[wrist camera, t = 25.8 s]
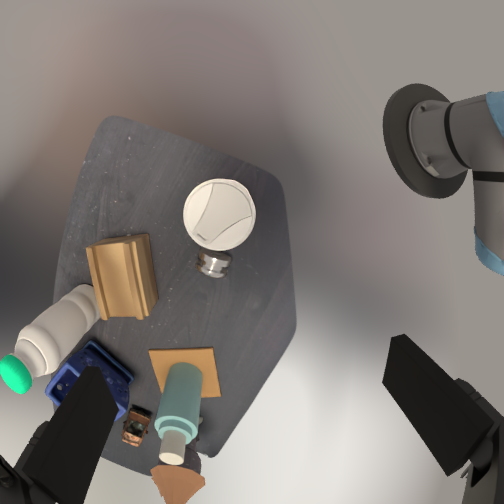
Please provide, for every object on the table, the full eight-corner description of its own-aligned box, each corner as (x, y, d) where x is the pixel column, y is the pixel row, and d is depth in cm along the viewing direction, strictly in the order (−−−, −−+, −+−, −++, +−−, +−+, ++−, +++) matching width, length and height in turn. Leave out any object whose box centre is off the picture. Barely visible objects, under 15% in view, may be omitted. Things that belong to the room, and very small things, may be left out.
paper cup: (225, 242, 42) (224, 268, 28) (186, 211, 40) (166, 221, 27) (258, 203, 41) (273, 210, 28) (219, 171, 40) (215, 161, 26)
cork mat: (212, 347, 46) (212, 348, 45) (221, 394, 49) (221, 396, 48) (149, 349, 45) (148, 350, 45) (163, 395, 48) (163, 397, 47)
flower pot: (92, 328, 43) (64, 360, 32) (143, 373, 46) (128, 413, 35) (66, 361, 44) (41, 393, 33) (112, 400, 47) (96, 437, 36)
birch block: (148, 233, 41) (132, 243, 33) (158, 298, 43) (146, 319, 36) (105, 238, 40) (83, 248, 33) (116, 300, 43) (99, 320, 35)
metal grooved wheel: (231, 255, 43) (232, 264, 38) (225, 272, 43) (225, 283, 38) (201, 245, 42) (197, 252, 37) (195, 263, 42) (191, 272, 38)
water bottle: (108, 292, 42) (28, 375, 18) (102, 324, 43) (35, 413, 19) (76, 276, 41) (-14, 342, 17) (72, 309, 42) (-5, 383, 18)
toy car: (123, 429, 50) (117, 449, 43) (126, 400, 48) (117, 422, 41) (148, 437, 51) (143, 457, 44) (153, 410, 49) (147, 432, 42)
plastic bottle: (199, 470, 28) (189, 447, 26) (155, 468, 28) (141, 444, 26) (205, 387, 47) (199, 361, 46) (172, 388, 47) (165, 362, 45)
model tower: (154, 418, 49) (130, 529, 20) (178, 394, 48) (157, 524, 19) (190, 436, 51) (182, 544, 22) (216, 414, 50) (217, 538, 21)
